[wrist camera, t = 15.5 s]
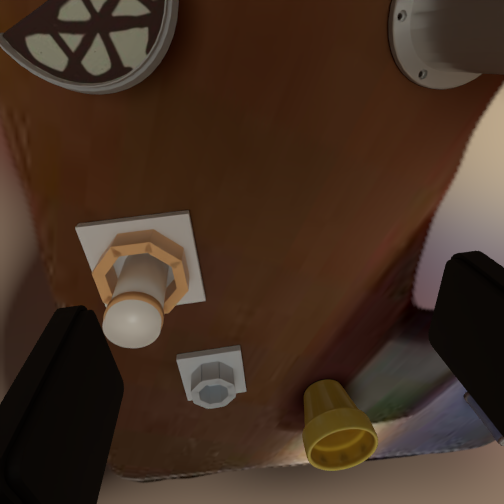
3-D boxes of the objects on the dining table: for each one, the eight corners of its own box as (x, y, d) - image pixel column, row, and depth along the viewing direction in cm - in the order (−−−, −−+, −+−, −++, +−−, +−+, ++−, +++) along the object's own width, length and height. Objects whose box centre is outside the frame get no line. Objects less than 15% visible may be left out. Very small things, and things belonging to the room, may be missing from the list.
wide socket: (188, 210, 37) (187, 225, 34) (205, 296, 43) (205, 316, 40) (78, 223, 36) (64, 240, 33) (110, 309, 43) (102, 331, 39)
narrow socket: (239, 345, 48) (242, 366, 45) (245, 386, 53) (248, 409, 49) (177, 354, 48) (174, 377, 44) (188, 395, 52) (187, 418, 49)
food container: (99, 112, 31) (60, 133, 23) (49, 44, 28) (-19, 38, 20) (212, 39, 30) (216, 31, 21) (171, -43, 27) (155, -90, 18)
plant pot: (311, 364, 52) (331, 423, 44) (364, 377, 55) (393, 434, 47) (281, 406, 56) (294, 467, 48) (332, 416, 60) (353, 474, 51)
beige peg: (163, 244, 38) (153, 300, 29) (174, 282, 41) (168, 343, 32) (115, 252, 37) (92, 311, 29) (130, 289, 40) (111, 353, 32)
